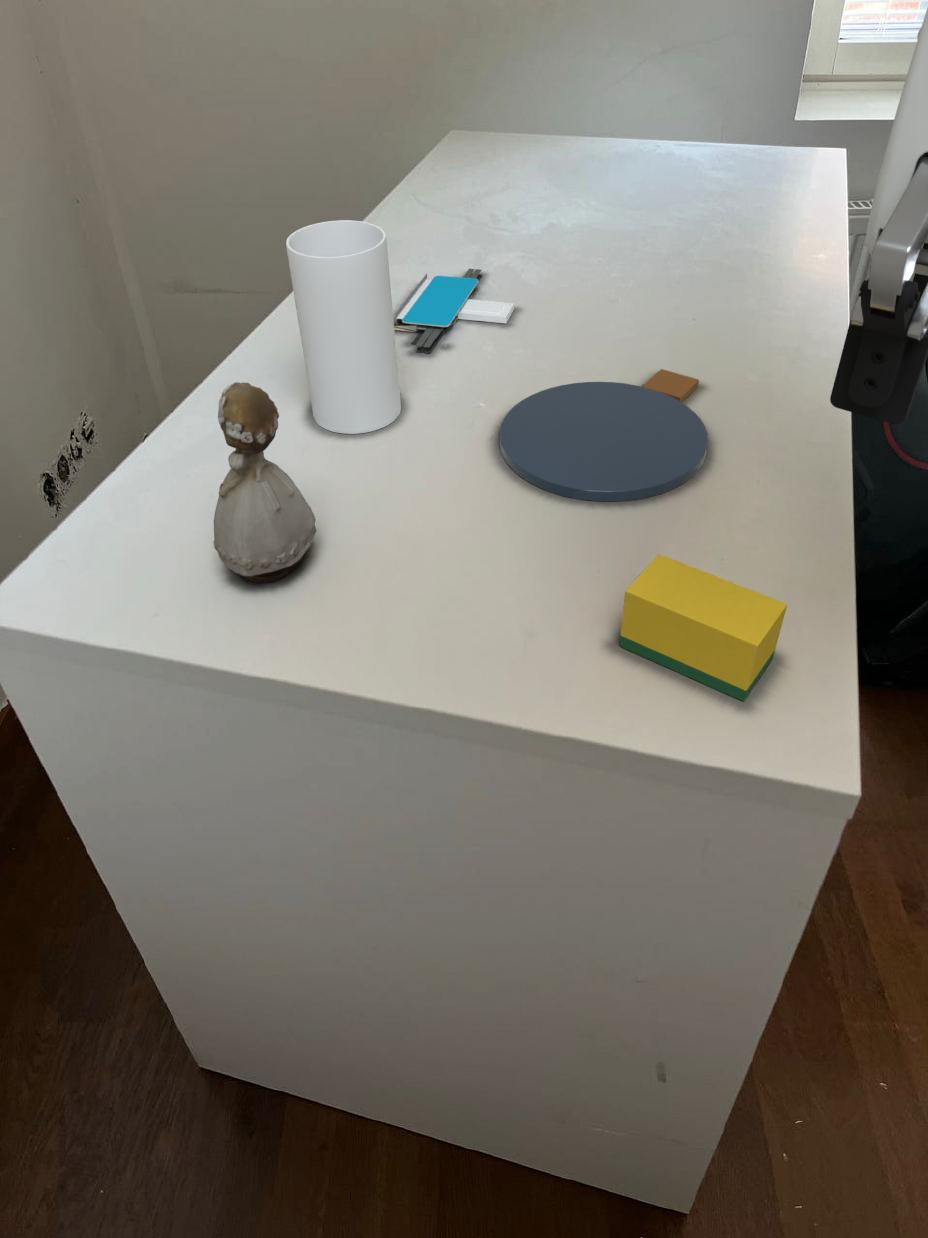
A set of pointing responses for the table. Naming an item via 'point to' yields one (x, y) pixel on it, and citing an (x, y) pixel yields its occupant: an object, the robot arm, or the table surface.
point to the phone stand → (445, 308)
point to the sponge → (701, 626)
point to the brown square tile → (672, 384)
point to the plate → (603, 441)
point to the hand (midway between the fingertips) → (903, 367)
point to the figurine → (257, 494)
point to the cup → (346, 324)
